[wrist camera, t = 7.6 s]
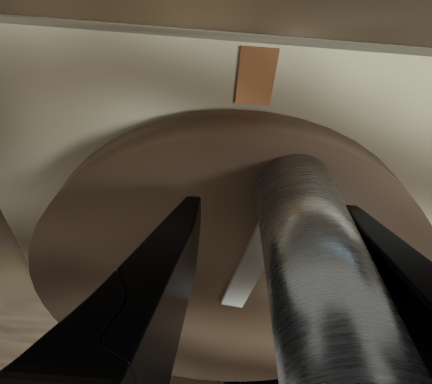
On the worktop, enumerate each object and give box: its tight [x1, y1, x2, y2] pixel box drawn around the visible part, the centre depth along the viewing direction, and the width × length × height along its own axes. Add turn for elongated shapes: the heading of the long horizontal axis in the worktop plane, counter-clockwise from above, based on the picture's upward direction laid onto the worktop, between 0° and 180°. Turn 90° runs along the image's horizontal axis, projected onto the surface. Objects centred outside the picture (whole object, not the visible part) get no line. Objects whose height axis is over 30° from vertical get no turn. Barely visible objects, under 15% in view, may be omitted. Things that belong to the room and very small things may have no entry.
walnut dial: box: [28, 109, 432, 384], centre depth 12 cm, size 18×18×8 cm
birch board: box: [0, 14, 432, 264], centre depth 16 cm, size 20×21×2 cm
